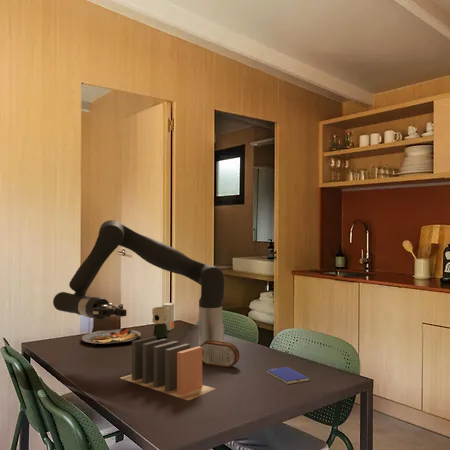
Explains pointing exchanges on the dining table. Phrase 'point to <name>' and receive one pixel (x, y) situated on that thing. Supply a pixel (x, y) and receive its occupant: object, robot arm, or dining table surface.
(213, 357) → the tin
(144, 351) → the domino
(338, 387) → the dining table surface
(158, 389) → the board
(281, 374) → the blue notebook
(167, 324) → the skincare box
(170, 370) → the domino
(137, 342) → the domino
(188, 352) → the domino
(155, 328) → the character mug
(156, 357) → the domino
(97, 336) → the food plate
